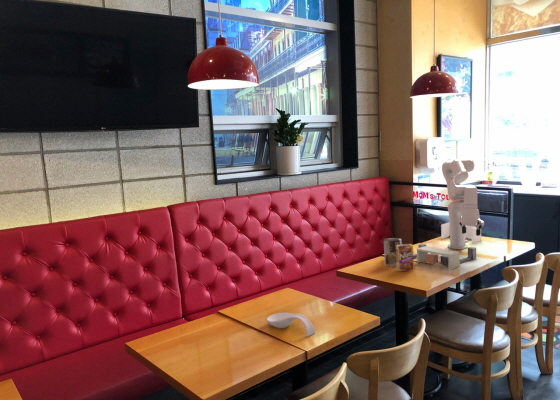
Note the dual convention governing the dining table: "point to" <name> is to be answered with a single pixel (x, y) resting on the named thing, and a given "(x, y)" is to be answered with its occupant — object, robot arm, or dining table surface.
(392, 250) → the coffee box
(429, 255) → the block
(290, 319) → the spoon rest
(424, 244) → the straight bar tool
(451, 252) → the cubby
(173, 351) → the dining table surface
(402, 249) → the candy box
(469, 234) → the storage container
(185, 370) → the dining table surface
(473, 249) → the crook tool
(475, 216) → the robot arm
